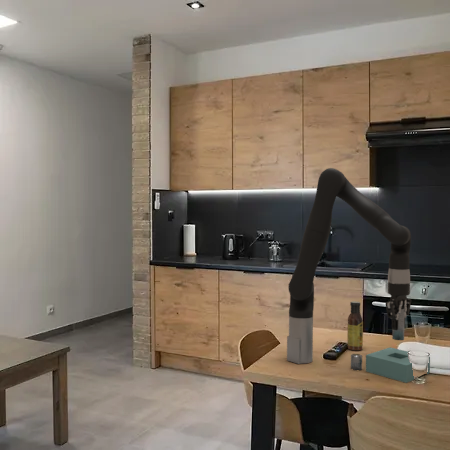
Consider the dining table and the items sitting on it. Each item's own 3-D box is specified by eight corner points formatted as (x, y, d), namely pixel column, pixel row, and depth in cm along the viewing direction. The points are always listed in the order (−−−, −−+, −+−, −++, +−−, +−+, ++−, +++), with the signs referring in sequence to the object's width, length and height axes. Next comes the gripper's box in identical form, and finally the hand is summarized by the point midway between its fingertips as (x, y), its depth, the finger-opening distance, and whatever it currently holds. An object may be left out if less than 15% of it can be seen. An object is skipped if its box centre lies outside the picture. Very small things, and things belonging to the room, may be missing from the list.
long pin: (400, 340, 180) (400, 310, 180) (390, 338, 183) (390, 308, 183) (406, 339, 183) (406, 308, 183) (396, 336, 186) (396, 307, 186)
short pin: (357, 371, 185) (357, 357, 184) (348, 368, 188) (348, 355, 187) (364, 369, 187) (364, 355, 187) (354, 366, 190) (355, 353, 190)
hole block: (406, 382, 172) (406, 365, 172) (365, 371, 184) (365, 354, 184) (429, 373, 183) (430, 356, 182) (389, 362, 195) (390, 347, 195)
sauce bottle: (363, 351, 210) (363, 303, 209) (347, 350, 211) (348, 303, 211) (362, 347, 216) (362, 301, 216) (347, 346, 218) (347, 300, 217)
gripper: (399, 278, 190) (399, 324, 191) (378, 281, 181) (378, 329, 181) (418, 280, 184) (418, 327, 185) (397, 284, 175) (397, 333, 176)
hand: (398, 328), depth 183 cm, fingers closed on long pin, 4 cm apart
